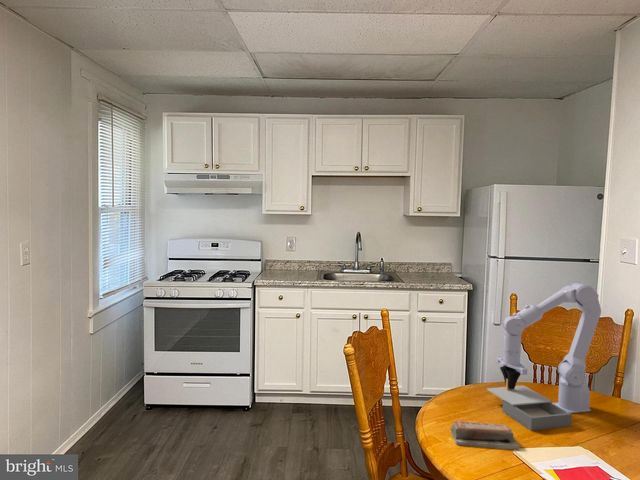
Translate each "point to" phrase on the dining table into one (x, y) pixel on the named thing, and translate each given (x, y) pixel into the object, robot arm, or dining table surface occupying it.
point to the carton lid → (518, 395)
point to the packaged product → (483, 435)
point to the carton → (538, 415)
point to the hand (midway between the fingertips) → (510, 387)
